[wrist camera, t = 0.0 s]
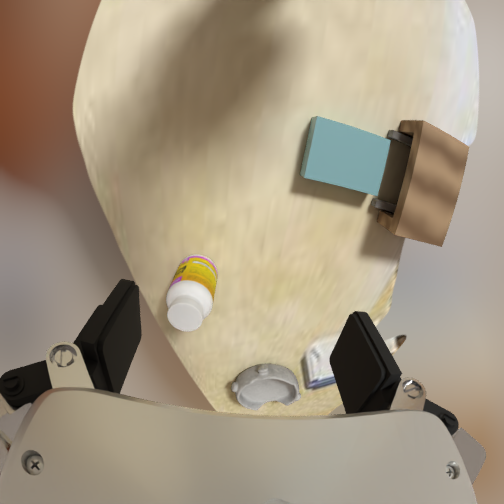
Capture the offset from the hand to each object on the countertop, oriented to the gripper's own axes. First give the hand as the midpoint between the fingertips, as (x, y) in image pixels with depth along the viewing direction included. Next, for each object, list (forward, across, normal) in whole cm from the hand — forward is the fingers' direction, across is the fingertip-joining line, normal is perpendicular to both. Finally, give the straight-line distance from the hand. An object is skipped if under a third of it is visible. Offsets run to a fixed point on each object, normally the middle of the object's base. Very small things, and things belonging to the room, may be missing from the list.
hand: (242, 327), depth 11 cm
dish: (+32, -12, +41) cm, 53 cm away
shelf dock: (+31, -28, -8) cm, 43 cm away
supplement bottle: (+31, +5, +15) cm, 35 cm away
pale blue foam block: (+31, -14, -8) cm, 35 cm away
